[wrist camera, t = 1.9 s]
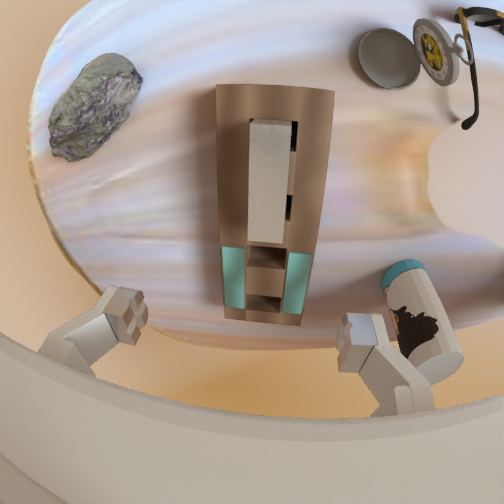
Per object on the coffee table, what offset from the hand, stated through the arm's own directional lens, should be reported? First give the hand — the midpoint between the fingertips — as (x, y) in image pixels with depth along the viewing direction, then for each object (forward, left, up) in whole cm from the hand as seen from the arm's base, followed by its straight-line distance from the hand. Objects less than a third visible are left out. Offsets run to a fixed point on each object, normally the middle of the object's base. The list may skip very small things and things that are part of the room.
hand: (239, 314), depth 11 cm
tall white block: (0, 0, -21) cm, 21 cm away
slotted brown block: (0, +6, -21) cm, 22 cm away
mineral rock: (+20, -7, -21) cm, 30 cm away
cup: (-19, +14, -21) cm, 32 cm away
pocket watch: (-12, -13, -21) cm, 28 cm away
